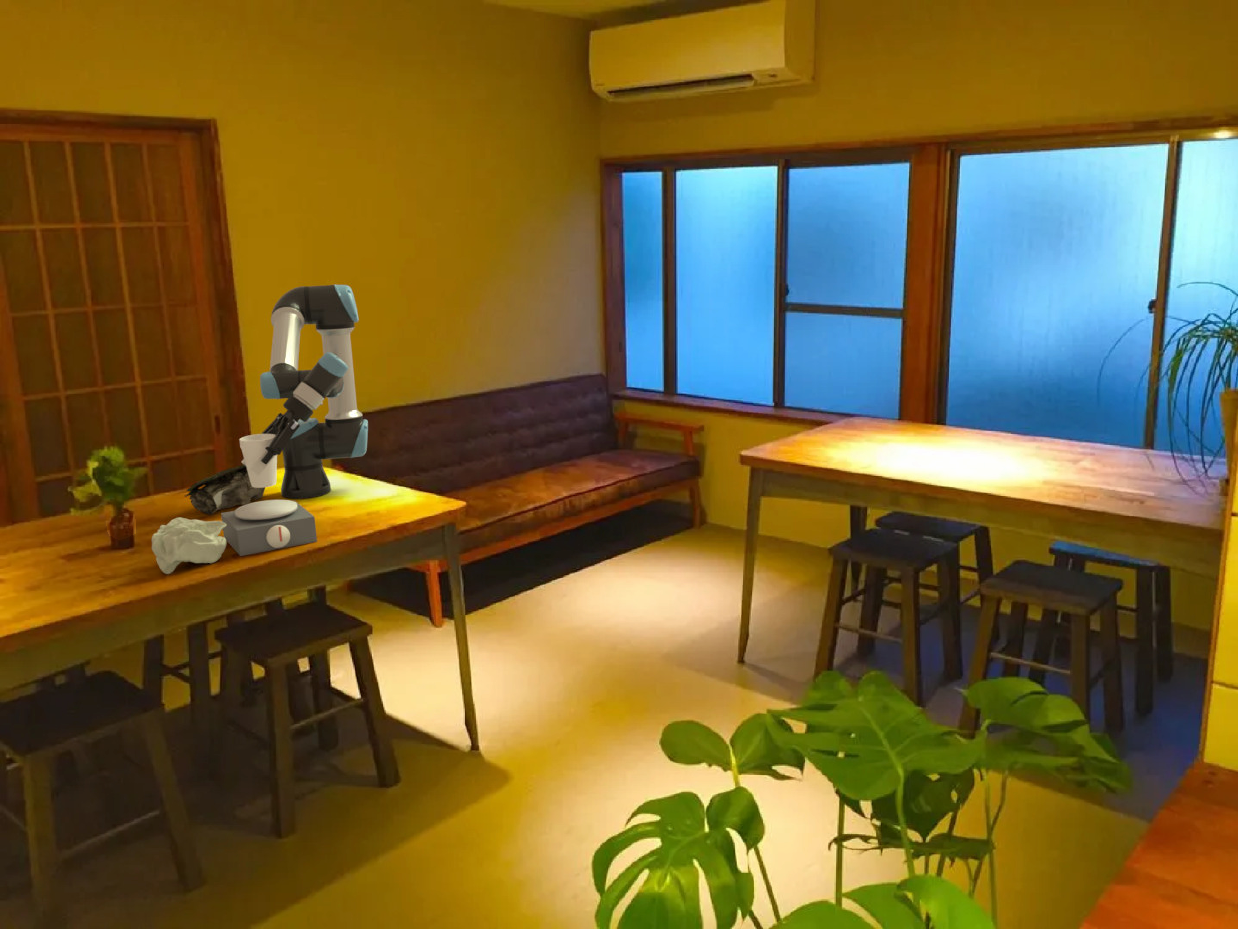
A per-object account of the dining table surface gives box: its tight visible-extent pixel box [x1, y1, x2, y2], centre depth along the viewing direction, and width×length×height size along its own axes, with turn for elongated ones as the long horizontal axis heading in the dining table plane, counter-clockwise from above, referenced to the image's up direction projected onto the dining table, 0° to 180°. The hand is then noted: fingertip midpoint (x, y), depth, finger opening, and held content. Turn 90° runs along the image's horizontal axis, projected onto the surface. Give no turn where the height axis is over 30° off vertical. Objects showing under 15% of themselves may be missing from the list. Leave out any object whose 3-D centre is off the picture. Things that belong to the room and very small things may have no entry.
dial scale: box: [220, 499, 318, 557], centre depth 279 cm, size 21×20×9 cm
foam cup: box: [238, 433, 278, 488], centre depth 275 cm, size 10×9×13 cm
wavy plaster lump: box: [151, 516, 228, 575], centre depth 259 cm, size 18×13×16 cm
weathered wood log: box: [184, 464, 266, 516], centre depth 313 cm, size 28×13×15 cm
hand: (249, 468), depth 274 cm, fingers closed on foam cup, 9 cm apart
